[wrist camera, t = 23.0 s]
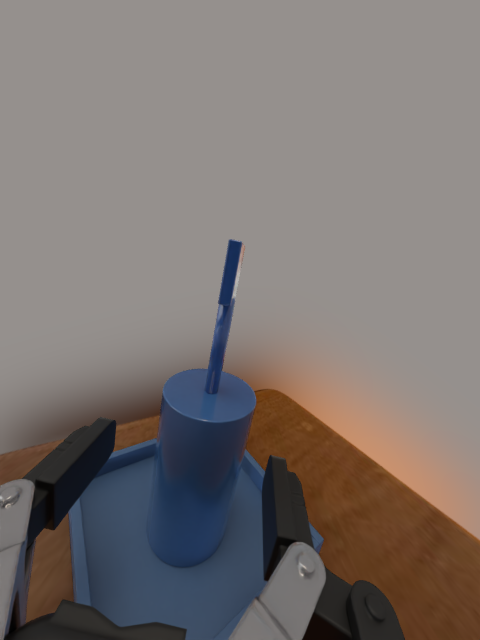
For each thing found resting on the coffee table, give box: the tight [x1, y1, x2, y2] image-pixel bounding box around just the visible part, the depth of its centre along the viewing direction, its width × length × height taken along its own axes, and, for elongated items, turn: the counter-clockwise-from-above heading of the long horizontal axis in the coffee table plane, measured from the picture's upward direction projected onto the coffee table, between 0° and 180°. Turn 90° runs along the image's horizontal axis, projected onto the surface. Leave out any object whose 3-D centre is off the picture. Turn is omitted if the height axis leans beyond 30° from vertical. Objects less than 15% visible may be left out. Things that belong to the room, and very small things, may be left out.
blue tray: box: [68, 438, 324, 640], centre depth 18 cm, size 14×14×2 cm
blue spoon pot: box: [146, 239, 256, 567], centre depth 15 cm, size 6×6×20 cm
